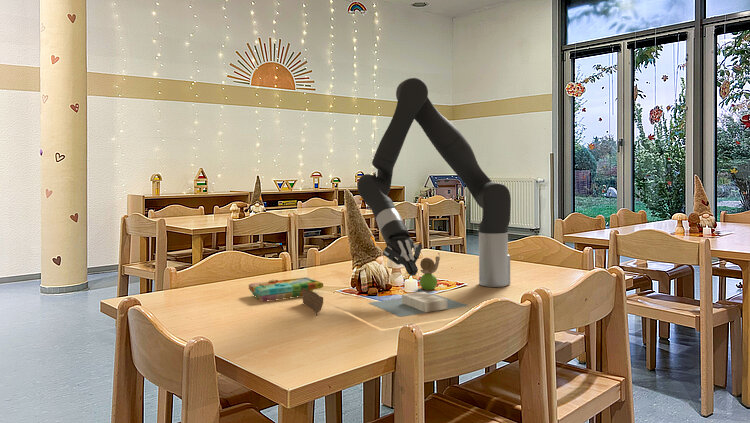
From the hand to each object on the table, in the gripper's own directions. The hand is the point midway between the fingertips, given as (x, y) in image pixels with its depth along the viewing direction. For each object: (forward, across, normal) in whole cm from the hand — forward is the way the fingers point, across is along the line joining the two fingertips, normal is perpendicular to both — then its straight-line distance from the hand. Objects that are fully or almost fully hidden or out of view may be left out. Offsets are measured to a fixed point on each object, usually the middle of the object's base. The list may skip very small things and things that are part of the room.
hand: (414, 273), depth 163 cm
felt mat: (+7, 0, +5) cm, 9 cm away
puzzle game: (-16, -27, +29) cm, 43 cm away
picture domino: (+4, 0, +6) cm, 7 cm away
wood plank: (-1, -27, +14) cm, 31 cm away
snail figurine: (-3, +14, +16) cm, 21 cm away
